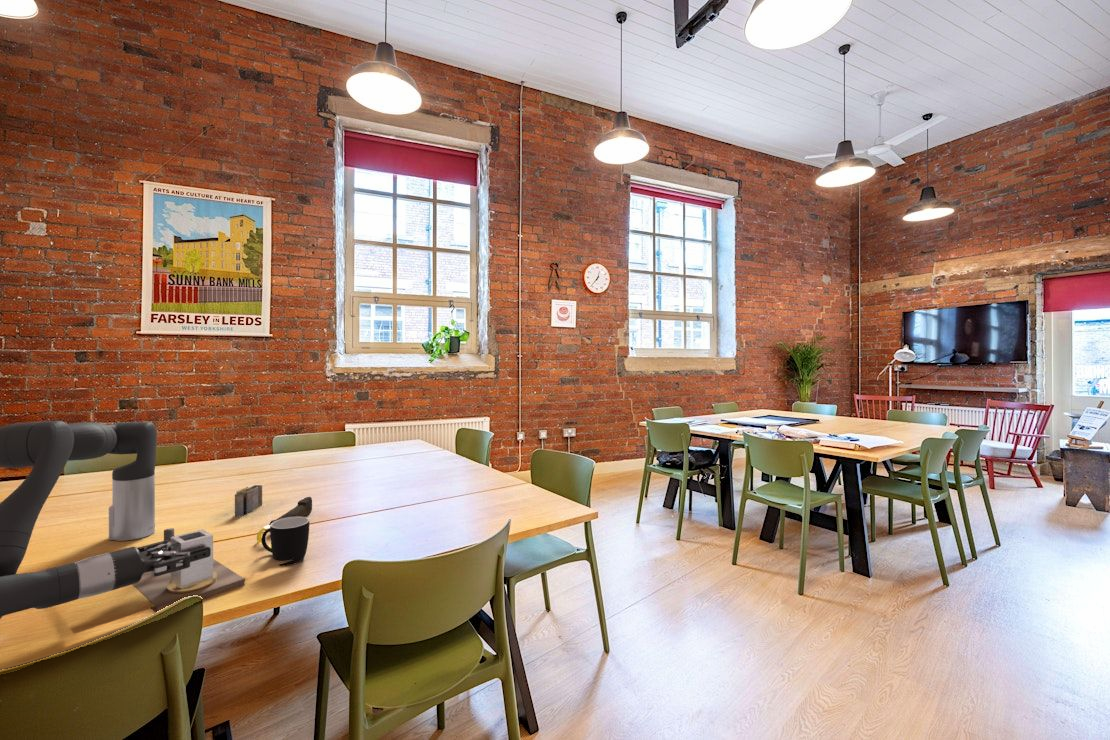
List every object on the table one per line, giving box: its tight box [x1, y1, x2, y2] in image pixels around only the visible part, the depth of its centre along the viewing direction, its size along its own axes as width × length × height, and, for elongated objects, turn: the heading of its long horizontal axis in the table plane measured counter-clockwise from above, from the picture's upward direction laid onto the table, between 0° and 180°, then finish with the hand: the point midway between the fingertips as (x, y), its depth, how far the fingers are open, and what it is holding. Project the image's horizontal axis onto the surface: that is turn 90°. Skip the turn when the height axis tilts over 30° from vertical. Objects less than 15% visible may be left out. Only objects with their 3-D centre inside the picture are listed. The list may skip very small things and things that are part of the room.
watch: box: [256, 524, 271, 548], centre depth 131 cm, size 6×3×6 cm, turn 85°
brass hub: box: [167, 571, 217, 594], centre depth 107 cm, size 9×9×7 cm
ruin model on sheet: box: [234, 484, 263, 517], centre depth 161 cm, size 11×3×10 cm, turn 3°
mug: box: [261, 517, 310, 566], centre depth 123 cm, size 12×9×10 cm
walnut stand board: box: [131, 527, 246, 613], centre depth 111 cm, size 28×16×10 cm, turn 55°
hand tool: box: [268, 496, 313, 533], centre depth 151 cm, size 23×5×6 cm, turn 1°
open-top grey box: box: [171, 529, 214, 589], centre depth 106 cm, size 6×6×10 cm
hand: (202, 546), depth 108 cm, fingers open, 8 cm apart
